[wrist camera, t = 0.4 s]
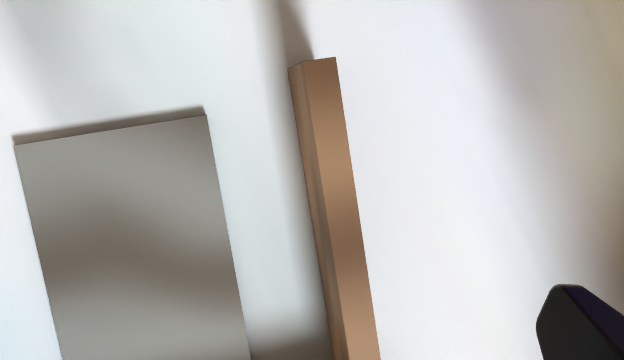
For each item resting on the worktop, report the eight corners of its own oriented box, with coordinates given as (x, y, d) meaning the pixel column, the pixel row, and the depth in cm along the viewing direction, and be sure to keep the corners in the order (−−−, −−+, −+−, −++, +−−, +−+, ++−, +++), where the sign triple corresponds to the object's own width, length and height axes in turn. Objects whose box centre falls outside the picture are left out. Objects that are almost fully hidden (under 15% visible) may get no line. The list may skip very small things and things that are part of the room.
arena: (368, 406, 25) (393, 444, 22) (80, 485, 23) (65, 539, 20) (316, 64, 23) (335, 56, 20) (-7, 112, 21) (-39, 111, 18)
